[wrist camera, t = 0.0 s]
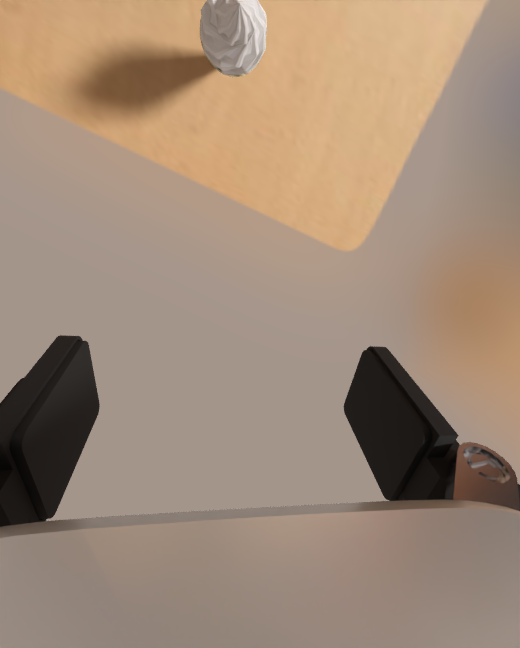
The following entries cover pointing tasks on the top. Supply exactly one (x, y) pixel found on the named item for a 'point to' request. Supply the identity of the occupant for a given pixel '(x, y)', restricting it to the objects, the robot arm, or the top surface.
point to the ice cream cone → (233, 35)
